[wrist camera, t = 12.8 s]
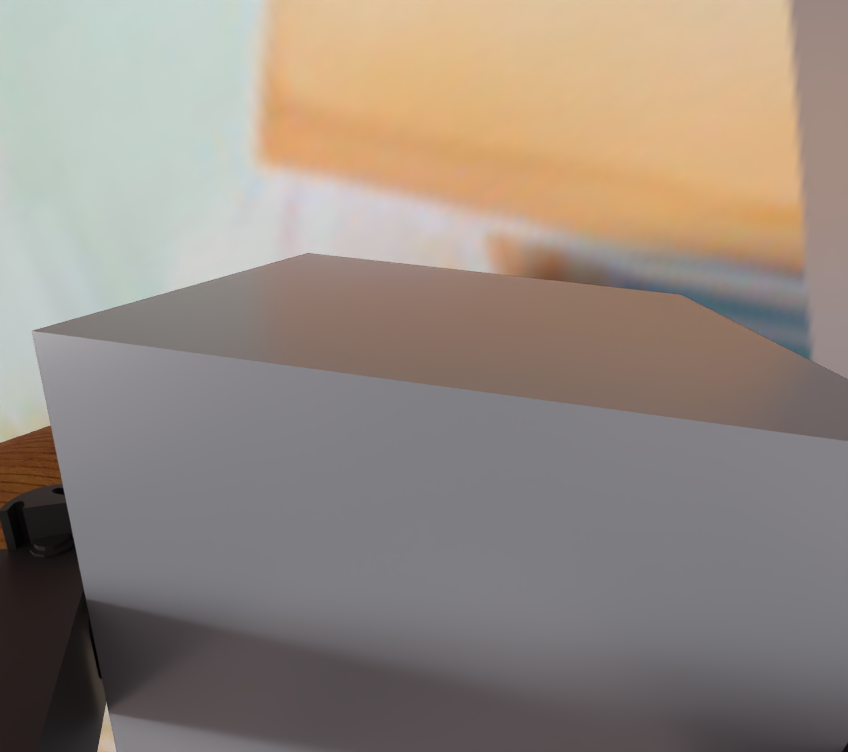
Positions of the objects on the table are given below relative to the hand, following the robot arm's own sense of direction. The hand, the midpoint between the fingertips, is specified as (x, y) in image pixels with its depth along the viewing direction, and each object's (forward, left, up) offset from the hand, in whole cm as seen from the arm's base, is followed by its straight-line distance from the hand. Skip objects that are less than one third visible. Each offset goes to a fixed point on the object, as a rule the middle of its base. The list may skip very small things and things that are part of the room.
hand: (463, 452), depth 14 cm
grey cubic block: (0, 0, -1) cm, 1 cm away
